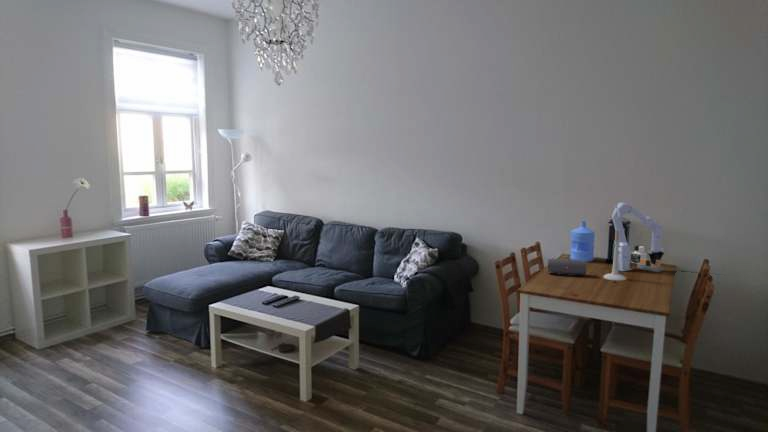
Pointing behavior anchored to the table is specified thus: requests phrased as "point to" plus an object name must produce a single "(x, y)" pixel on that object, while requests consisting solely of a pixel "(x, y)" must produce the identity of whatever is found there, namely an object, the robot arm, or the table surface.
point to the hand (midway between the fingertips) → (655, 263)
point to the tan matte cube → (656, 264)
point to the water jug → (582, 243)
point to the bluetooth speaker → (567, 266)
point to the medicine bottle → (638, 254)
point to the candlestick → (615, 263)
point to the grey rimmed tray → (648, 266)
